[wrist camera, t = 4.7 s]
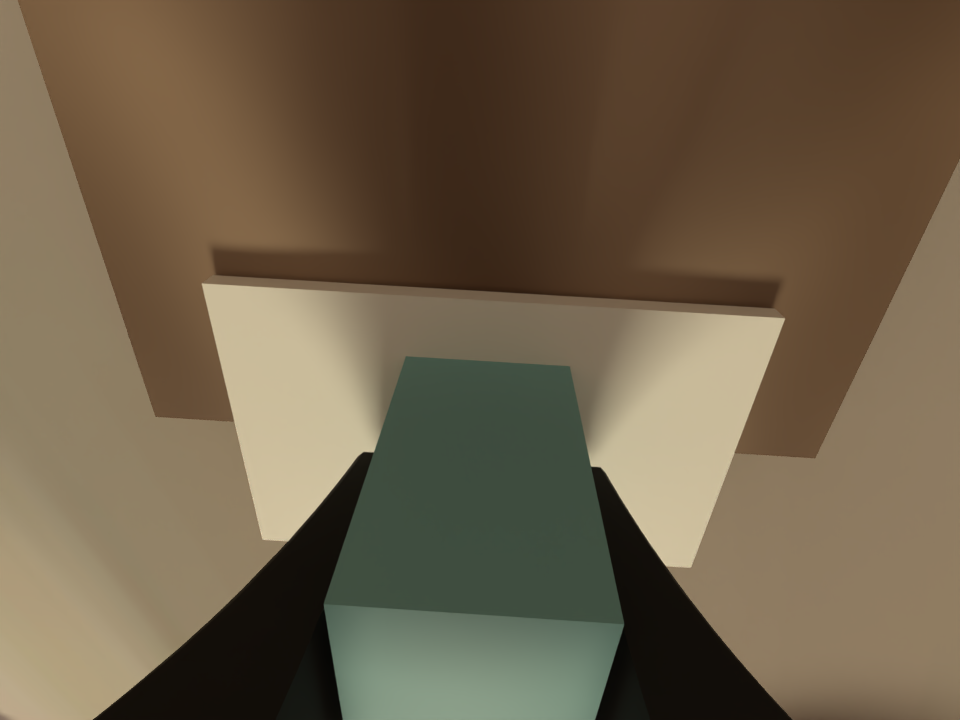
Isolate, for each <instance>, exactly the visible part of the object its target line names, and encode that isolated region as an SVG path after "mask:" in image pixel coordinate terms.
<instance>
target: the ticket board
mask: <svg viewBox="0 0 960 720" xmlns="http://www.w3.org/2000/svg"><path fill="white" fill-rule="evenodd" d="M18 2H19V5H20V8H21V11H22V14H23V17H24V20H25V23H26V26H27V29H28V32H29V35H30V39H31V42H32V45H33V48H34V51H35V54H36V57H37V60H38V63H39V66H40V69H41V72H42V75H43V78H44V81H45V84H46V87H47V90H48V93H49V96H50V99H51V102H52V105H53V108H54V111H55V114H56V117H57V120H58V123H59V126H60V129H61V132H62V135H63V138H64V141H65V144H66V147H67V150H68V153H69V156H70V159H71V162H72V165H73V169H74V172H75V175H76V178H77V181H78V184H79V187H80V190H81V193H82V196H83V199H84V202H85V205H86V208H87V211H88V214H89V217H90V220H91V223H92V226H93V229H94V232H95V235H96V238H97V241H98V244H99V247H100V250H101V253H102V256H103V259H104V262H105V265H106V268H107V271H108V274H109V277H110V280H111V283H112V286H113V289H114V292H115V295H116V298H117V302H118V305H119V308H120V311H121V314H122V317H123V320H124V323H125V326H126V329H127V332H128V335H129V338H130V341H131V344H132V347H133V350H134V353H135V356H136V359H137V362H138V365H139V368H140V371H141V374H142V377H143V380H144V383H145V386H146V389H147V392H148V395H149V398H150V401H151V404H152V407H153V410H154V413H155V416H156V417H169V418H184V419H200V420H216V421H232V422H234V418H233V413H232V409H231V405H230V401H229V397H228V392H227V388H226V384H225V380H224V376H223V371H222V367H221V363H220V359H219V355H218V350H217V346H216V342H215V338H214V334H213V329H212V325H211V321H210V317H209V312H208V308H207V304H206V300H205V296H204V291H203V287H202V283H203V282H204V281H206V280H207V279H208V278H210V277H211V276H212V275H220V276H237V277H253V278H270V279H287V280H304V281H321V282H337V283H354V284H371V285H388V286H405V287H421V288H438V289H455V290H472V291H489V292H505V293H522V294H539V295H556V296H573V297H589V298H606V299H623V300H640V301H657V302H673V303H690V304H707V305H724V306H741V307H758V308H774V309H776V310H777V311H778V312H779V313H780V314H781V315H782V316H783V317H784V318H785V320H784V323H783V326H782V328H781V331H780V334H779V336H778V339H777V342H776V344H775V347H774V349H773V352H772V355H771V357H770V360H769V363H768V365H767V368H766V371H765V373H764V376H763V379H762V381H761V384H760V386H759V389H758V392H757V394H756V397H755V400H754V402H753V405H752V408H751V410H750V413H749V415H748V418H747V421H746V423H745V426H744V429H743V431H742V434H741V437H740V439H739V442H738V445H737V447H736V450H735V452H734V453H741V454H757V455H773V456H789V457H804V458H815V457H816V455H817V453H818V451H819V449H820V447H821V445H822V443H823V441H824V439H825V437H826V435H827V433H828V430H829V428H830V426H831V424H832V422H833V420H834V418H835V416H836V414H837V412H838V410H839V408H840V406H841V404H842V401H843V399H844V397H845V395H846V393H847V391H848V389H849V387H850V385H851V383H852V381H853V379H854V377H855V375H856V373H857V370H858V368H859V366H860V364H861V362H862V360H863V358H864V356H865V354H866V352H867V350H868V348H869V346H870V344H871V341H872V339H873V337H874V335H875V333H876V331H877V329H878V327H879V325H880V323H881V321H882V319H883V317H884V315H885V312H886V310H887V308H888V306H889V304H890V302H891V300H892V298H893V296H894V294H895V292H896V290H897V288H898V286H899V283H900V281H901V279H902V277H903V275H904V273H905V271H906V269H907V267H908V265H909V263H910V261H911V259H912V257H913V255H914V252H915V250H916V248H917V246H918V244H919V242H920V240H921V238H922V236H923V234H924V232H925V230H926V228H927V226H928V223H929V221H930V219H931V217H932V215H933V213H934V211H935V209H936V207H937V205H938V203H939V201H940V199H941V197H942V194H943V192H944V190H945V188H946V186H947V184H948V182H949V180H950V178H951V176H952V174H953V172H954V170H955V168H956V165H957V163H958V161H959V159H960V0H18Z"/></svg>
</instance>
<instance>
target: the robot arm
mask: <svg viewBox="0 0 960 720" xmlns="http://www.w3.org/2000/svg"><path fill="white" fill-rule="evenodd" d="M373 454H374V452H363V453H361V454H360V455H359V456H358V457H357V458H356V459H355V461H354V462H353V463H352V465H351V466H350V467H349V469H348V470H347V471H346V473H345V474H344V475H343V476H342V478H341V479H340V480H339V482H338V483H337V484H336V485H335V487H334V488H333V489H332V490H331V492H330V493H329V494H328V495H327V497H326V498H325V499H324V500H323V501H322V503H321V504H320V505H319V506H318V507H317V509H316V510H315V511H314V512H313V513H312V514H311V516H310V517H309V518H308V519H307V520H306V521H305V522H304V524H303V525H302V526H301V527H300V528H299V529H298V530H297V532H296V533H295V534H294V535H293V536H292V537H291V539H290V540H289V541H288V542H287V543H286V544H285V545H284V546H283V547H282V548H281V550H280V551H279V552H278V553H277V554H276V555H275V556H274V557H273V558H272V559H271V560H270V561H269V562H268V563H267V564H266V565H265V566H264V567H263V568H262V569H261V570H260V571H259V572H258V574H257V575H256V576H255V577H254V578H253V579H252V580H251V581H250V582H249V583H248V584H247V585H246V586H245V587H244V588H243V589H242V590H241V591H240V592H239V593H238V594H237V595H236V596H235V597H234V598H233V599H232V600H231V601H230V602H229V603H228V604H227V605H226V606H225V607H224V608H223V609H221V610H220V611H219V612H218V613H217V614H216V615H215V616H214V617H213V618H212V619H211V620H210V621H209V622H208V623H207V624H205V625H204V626H203V627H202V628H201V629H200V630H199V631H198V632H197V633H195V634H194V635H193V636H192V637H191V638H190V639H189V640H188V641H187V642H186V643H184V644H183V645H182V646H181V647H180V648H179V649H178V650H177V651H175V652H174V653H173V654H172V655H171V656H169V657H168V658H167V659H166V660H165V661H164V662H162V663H161V664H160V665H159V666H158V667H156V668H155V669H154V670H153V671H152V672H151V673H149V674H148V675H147V676H146V677H145V678H143V679H142V680H141V681H140V682H139V683H138V684H136V685H135V686H134V687H133V688H132V689H130V690H129V691H128V692H127V693H126V694H124V695H123V696H122V697H121V698H119V699H118V700H117V701H116V702H114V703H113V704H112V705H111V706H110V707H108V708H107V709H106V710H105V711H103V712H102V713H101V714H99V715H98V716H97V717H96V718H94V719H93V720H343V717H342V712H341V706H340V700H339V694H338V688H337V682H336V676H335V670H334V664H333V658H332V652H331V646H330V640H329V634H328V628H327V622H326V616H325V610H324V601H325V598H326V595H327V592H328V589H329V586H330V583H331V580H332V577H333V574H334V571H335V568H336V565H337V562H338V559H339V556H340V553H341V550H342V547H343V544H344V541H345V538H346V535H347V532H348V529H349V526H350V523H351V520H352V517H353V514H354V511H355V508H356V505H357V502H358V499H359V496H360V493H361V490H362V487H363V484H364V481H365V478H366V475H367V472H368V469H369V466H370V463H371V460H372V457H373ZM591 469H592V474H593V478H594V483H595V488H596V493H597V497H598V502H599V507H600V512H601V516H602V521H603V526H604V530H605V535H606V540H607V545H608V549H609V554H610V559H611V564H612V568H613V573H614V578H615V583H616V587H617V592H618V597H619V601H620V606H621V611H622V616H623V620H624V627H623V630H622V634H621V637H620V640H619V643H618V647H617V650H616V653H615V656H614V660H613V663H612V666H611V669H610V673H609V676H608V679H607V682H606V686H605V689H604V692H603V695H602V699H601V702H600V705H599V709H598V712H597V715H596V718H595V720H792V719H791V718H790V717H789V716H788V715H787V713H786V712H785V711H784V710H783V709H782V708H781V707H780V706H779V705H778V704H777V703H776V702H775V700H774V699H773V698H772V697H771V696H770V695H769V694H768V693H767V692H766V691H765V689H764V688H763V687H762V686H761V685H760V684H759V683H758V681H757V680H756V679H755V678H754V677H753V676H752V675H751V673H750V672H749V671H748V670H747V669H746V668H745V667H744V666H743V664H742V663H741V662H740V661H739V660H738V659H737V657H736V656H735V655H734V654H733V653H732V651H731V650H730V649H729V648H728V647H727V645H726V644H725V643H724V642H723V641H722V639H721V638H720V637H719V636H718V634H717V633H716V632H715V631H714V630H713V628H712V627H711V626H710V625H709V623H708V622H707V621H706V619H705V618H704V617H703V616H702V614H701V613H700V612H699V610H698V609H697V608H696V607H695V605H694V604H693V603H692V601H691V600H690V599H689V597H688V596H687V595H686V593H685V592H684V591H683V589H682V588H681V587H680V585H679V584H678V583H677V581H676V580H675V579H674V577H673V576H672V574H671V573H670V572H669V570H668V569H667V567H666V566H665V564H664V563H663V562H662V560H661V559H660V557H659V556H658V554H657V553H656V552H655V550H654V549H653V547H652V546H651V544H650V543H649V542H648V540H647V539H646V537H645V536H644V534H643V533H642V531H641V530H640V528H639V526H638V525H637V523H636V522H635V520H634V519H633V517H632V516H631V514H630V512H629V511H628V509H627V508H626V506H625V504H624V503H623V501H622V500H621V498H620V496H619V495H618V493H617V491H616V490H615V488H614V486H613V485H612V483H611V481H610V480H609V478H608V476H607V474H606V473H605V472H604V470H603V469H602V468H601V467H591Z"/></svg>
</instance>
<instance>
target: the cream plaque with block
mask: <svg viewBox="0 0 960 720" xmlns="http://www.w3.org/2000/svg"><path fill="white" fill-rule="evenodd" d="M202 287H203V291H204V296H205V300H206V304H207V308H208V312H209V317H210V321H211V325H212V329H213V334H214V338H215V342H216V346H217V350H218V355H219V359H220V363H221V367H222V371H223V376H224V380H225V384H226V388H227V392H228V397H229V401H230V405H231V409H232V413H233V418H234V422H235V426H236V430H237V434H238V439H239V443H240V447H241V451H242V455H243V460H244V464H245V468H246V472H247V477H248V481H249V485H250V489H251V493H252V498H253V502H254V506H255V510H256V514H257V519H258V523H259V527H260V531H261V535H262V540H276V541H289V540H290V539H291V537H292V536H293V535H294V534H295V533H296V532H297V530H298V529H299V528H300V527H301V526H302V525H303V524H304V522H305V521H306V520H307V519H308V518H309V517H310V516H311V514H312V513H313V512H314V511H315V510H316V509H317V507H318V506H319V505H320V504H321V503H322V501H323V500H324V499H325V498H326V497H327V495H328V494H329V493H330V492H331V490H332V489H333V488H334V487H335V485H336V484H337V483H338V482H339V480H340V479H341V478H342V476H343V475H344V474H345V473H346V471H347V470H348V469H349V467H350V466H351V465H352V463H353V462H354V461H355V459H356V458H357V457H358V456H359V455H360V454H361V453H363V452H374V454H373V457H372V460H371V463H370V466H369V469H368V472H367V475H366V478H365V481H364V484H363V487H362V490H361V493H360V496H359V499H358V502H357V505H356V508H355V511H354V514H353V517H352V520H351V523H350V526H349V529H348V532H347V535H346V538H345V541H344V544H343V547H342V550H341V553H340V556H339V559H338V562H337V565H336V568H335V571H334V574H333V577H332V580H331V583H330V586H329V589H328V592H327V595H326V598H325V601H324V610H325V616H326V622H327V628H328V634H329V640H330V646H331V652H332V658H333V664H334V670H335V676H336V682H337V688H338V694H339V700H340V706H341V712H342V717H343V720H595V718H596V715H597V712H598V709H599V705H600V702H601V699H602V695H603V692H604V689H605V686H606V682H607V679H608V676H609V673H610V669H611V666H612V663H613V660H614V656H615V653H616V650H617V647H618V643H619V640H620V637H621V634H622V630H623V627H624V620H623V616H622V611H621V606H620V601H619V597H618V592H617V587H616V583H615V578H614V573H613V568H612V564H611V559H610V554H609V549H608V545H607V540H606V535H605V530H604V526H603V521H602V516H601V512H600V507H599V502H598V497H597V493H596V488H595V483H594V478H593V474H592V469H591V467H601V468H602V469H603V470H604V472H605V473H606V474H607V476H608V478H609V480H610V481H611V483H612V485H613V486H614V488H615V490H616V491H617V493H618V495H619V496H620V498H621V500H622V501H623V503H624V504H625V506H626V508H627V509H628V511H629V512H630V514H631V516H632V517H633V519H634V520H635V522H636V523H637V525H638V526H639V528H640V530H641V531H642V533H643V534H644V536H645V537H646V539H647V540H648V542H649V543H650V544H651V546H652V547H653V549H654V550H655V552H656V553H657V554H658V556H659V557H660V559H661V560H662V562H663V563H664V564H665V566H672V567H688V568H691V566H692V563H693V561H694V558H695V555H696V553H697V550H698V548H699V545H700V542H701V540H702V537H703V534H704V532H705V529H706V526H707V524H708V521H709V518H710V516H711V513H712V511H713V508H714V505H715V503H716V500H717V497H718V495H719V492H720V489H721V487H722V484H723V481H724V479H725V476H726V474H727V471H728V468H729V466H730V463H731V460H732V458H733V455H734V452H735V450H736V447H737V445H738V442H739V439H740V437H741V434H742V431H743V429H744V426H745V423H746V421H747V418H748V415H749V413H750V410H751V408H752V405H753V402H754V400H755V397H756V394H757V392H758V389H759V386H760V384H761V381H762V379H763V376H764V373H765V371H766V368H767V365H768V363H769V360H770V357H771V355H772V352H773V349H774V347H775V344H776V342H777V339H778V336H779V334H780V331H781V328H782V326H783V323H784V320H785V318H784V317H783V316H782V315H781V314H780V313H779V312H778V311H777V310H776V309H774V308H758V307H741V306H724V305H707V304H690V303H673V302H657V301H640V300H623V299H606V298H589V297H573V296H556V295H539V294H522V293H505V292H489V291H472V290H455V289H438V288H421V287H405V286H388V285H371V284H354V283H337V282H321V281H304V280H287V279H270V278H253V277H237V276H220V275H212V276H211V277H210V278H208V279H207V280H206V281H204V282H203V283H202Z"/></svg>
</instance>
